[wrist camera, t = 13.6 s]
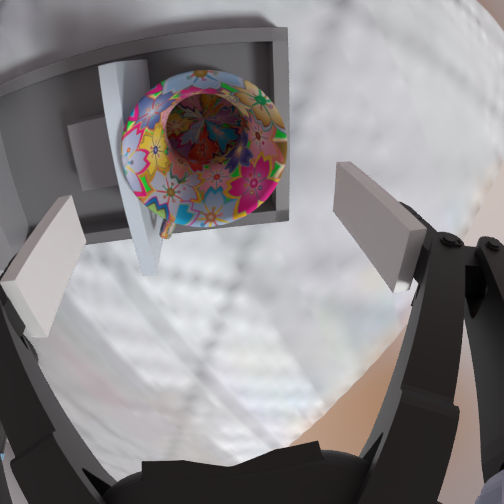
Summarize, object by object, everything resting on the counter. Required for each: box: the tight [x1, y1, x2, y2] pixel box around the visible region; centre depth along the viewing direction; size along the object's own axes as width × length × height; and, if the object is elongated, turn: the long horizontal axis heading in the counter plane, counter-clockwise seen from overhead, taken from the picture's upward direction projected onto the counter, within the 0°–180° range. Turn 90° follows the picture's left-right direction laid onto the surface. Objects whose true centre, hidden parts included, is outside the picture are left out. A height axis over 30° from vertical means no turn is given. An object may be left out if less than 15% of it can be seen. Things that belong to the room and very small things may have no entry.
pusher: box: [67, 59, 163, 276], centre depth 21 cm, size 7×14×10 cm, turn 2°
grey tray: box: [0, 27, 290, 270], centre depth 24 cm, size 30×17×5 cm, turn 92°
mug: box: [121, 70, 287, 239], centre depth 22 cm, size 12×9×11 cm
